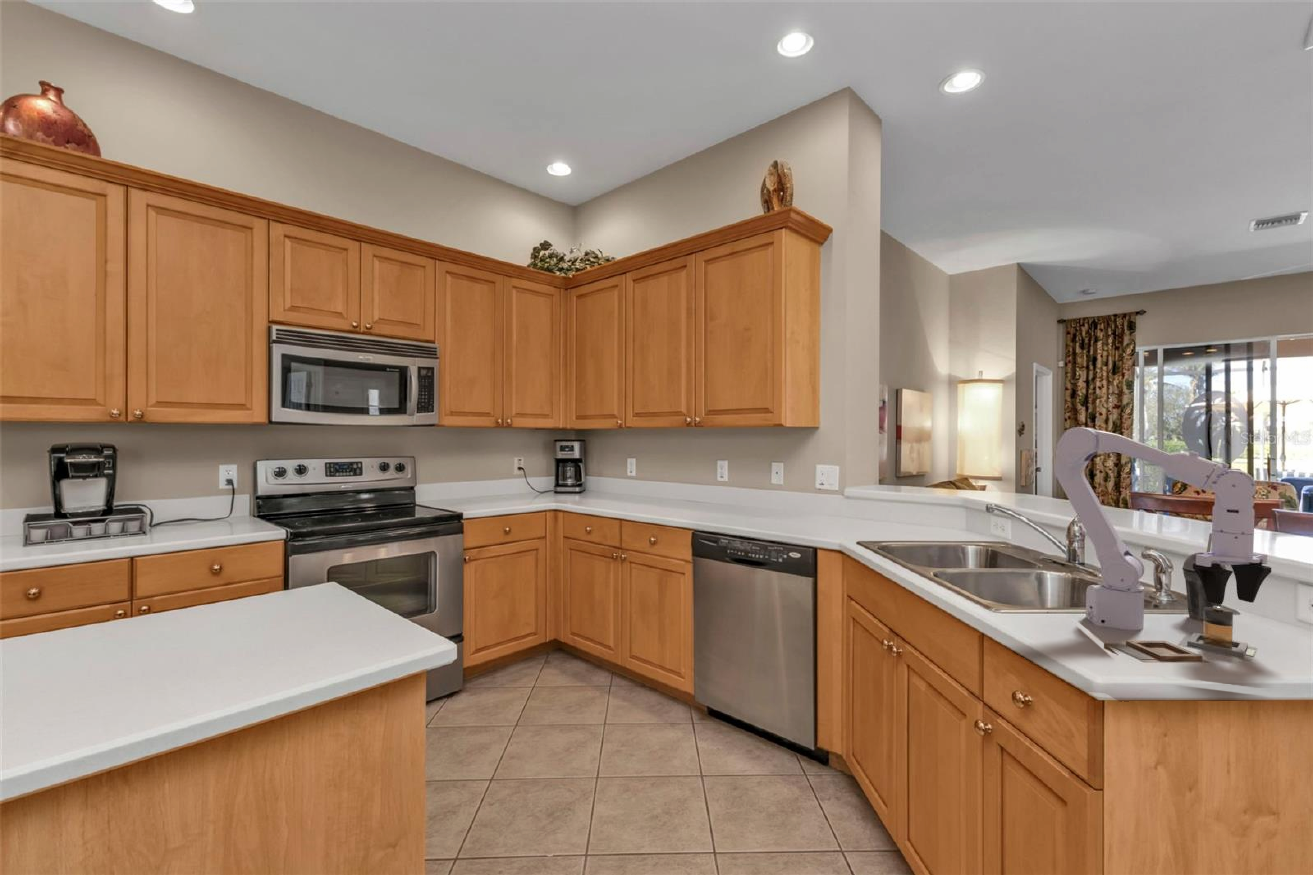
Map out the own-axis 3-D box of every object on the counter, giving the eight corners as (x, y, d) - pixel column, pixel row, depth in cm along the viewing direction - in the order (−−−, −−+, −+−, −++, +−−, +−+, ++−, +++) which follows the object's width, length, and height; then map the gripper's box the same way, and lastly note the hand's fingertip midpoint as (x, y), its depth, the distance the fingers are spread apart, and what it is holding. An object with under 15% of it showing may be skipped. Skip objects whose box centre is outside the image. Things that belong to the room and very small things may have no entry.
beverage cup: (1172, 617, 131) (1174, 529, 130) (1207, 618, 130) (1208, 530, 130) (1199, 628, 123) (1201, 535, 123) (1236, 629, 123) (1238, 536, 122)
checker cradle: (1252, 666, 103) (1252, 656, 103) (1177, 650, 111) (1177, 640, 111) (1257, 653, 109) (1257, 643, 109) (1186, 638, 117) (1186, 629, 117)
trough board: (1143, 667, 102) (1144, 657, 102) (1103, 648, 111) (1104, 639, 111) (1210, 667, 102) (1210, 657, 102) (1164, 648, 111) (1164, 639, 111)
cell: (1210, 648, 109) (1211, 609, 109) (1198, 641, 113) (1199, 603, 112) (1237, 651, 107) (1238, 611, 107) (1224, 644, 111) (1225, 605, 111)
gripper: (1226, 536, 105) (1224, 610, 105) (1288, 534, 108) (1285, 606, 108) (1184, 529, 112) (1182, 598, 112) (1243, 528, 115) (1241, 595, 115)
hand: (1230, 601), depth 111 cm, fingers open, 7 cm apart
